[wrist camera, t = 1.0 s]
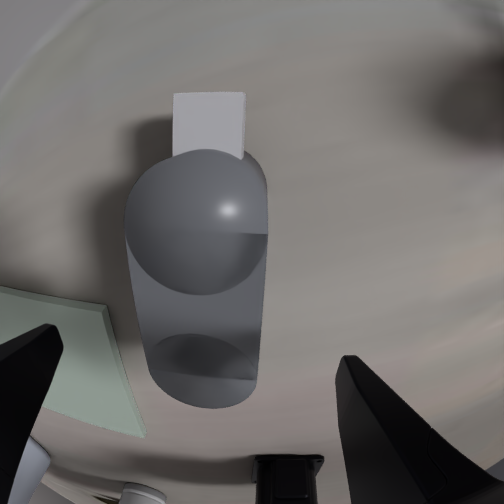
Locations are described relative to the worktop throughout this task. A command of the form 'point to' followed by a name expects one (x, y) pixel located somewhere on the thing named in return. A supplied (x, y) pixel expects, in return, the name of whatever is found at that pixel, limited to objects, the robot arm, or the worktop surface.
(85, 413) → the sage board
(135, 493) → the travel mug
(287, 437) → the worktop surface
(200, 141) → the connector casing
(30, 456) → the plastic bottle
